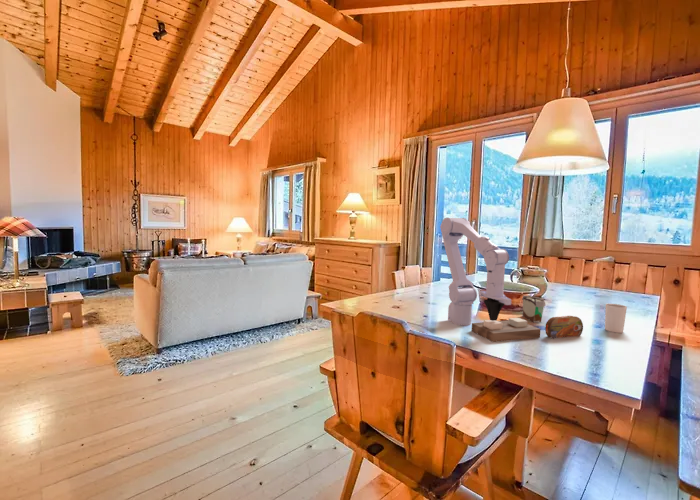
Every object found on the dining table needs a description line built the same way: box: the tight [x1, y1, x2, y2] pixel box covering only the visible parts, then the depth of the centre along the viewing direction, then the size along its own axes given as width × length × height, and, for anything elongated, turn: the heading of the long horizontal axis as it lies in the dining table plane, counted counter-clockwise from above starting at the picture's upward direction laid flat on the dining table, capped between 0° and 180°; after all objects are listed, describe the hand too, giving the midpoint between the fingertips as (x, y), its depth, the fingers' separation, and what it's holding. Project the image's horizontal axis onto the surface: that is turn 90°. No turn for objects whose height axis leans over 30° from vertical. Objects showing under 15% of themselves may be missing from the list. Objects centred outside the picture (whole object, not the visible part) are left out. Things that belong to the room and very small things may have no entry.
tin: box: [544, 315, 584, 340], centre depth 126 cm, size 15×3×8 cm, turn 105°
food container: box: [521, 295, 546, 324], centre depth 147 cm, size 12×6×10 cm, turn 179°
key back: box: [508, 317, 528, 328], centre depth 129 cm, size 4×4×3 cm
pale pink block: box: [483, 319, 502, 330], centre depth 126 cm, size 4×4×3 cm
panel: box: [471, 319, 542, 343], centre depth 128 cm, size 12×20×4 cm, turn 106°
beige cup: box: [604, 303, 628, 334], centre depth 137 cm, size 7×7×10 cm
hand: (493, 319), depth 126 cm, fingers closed
